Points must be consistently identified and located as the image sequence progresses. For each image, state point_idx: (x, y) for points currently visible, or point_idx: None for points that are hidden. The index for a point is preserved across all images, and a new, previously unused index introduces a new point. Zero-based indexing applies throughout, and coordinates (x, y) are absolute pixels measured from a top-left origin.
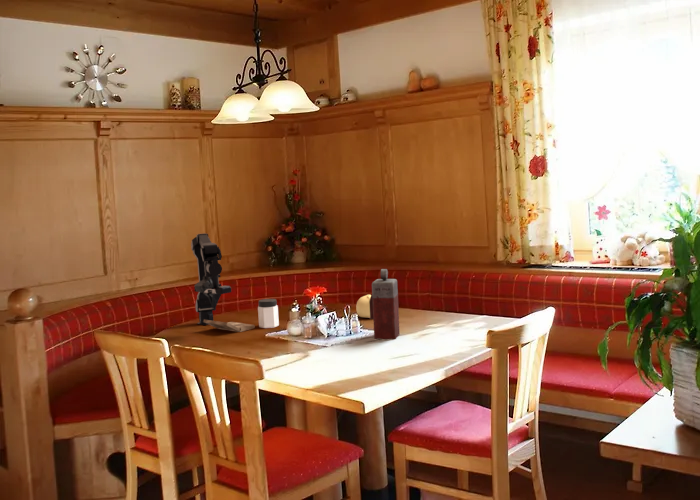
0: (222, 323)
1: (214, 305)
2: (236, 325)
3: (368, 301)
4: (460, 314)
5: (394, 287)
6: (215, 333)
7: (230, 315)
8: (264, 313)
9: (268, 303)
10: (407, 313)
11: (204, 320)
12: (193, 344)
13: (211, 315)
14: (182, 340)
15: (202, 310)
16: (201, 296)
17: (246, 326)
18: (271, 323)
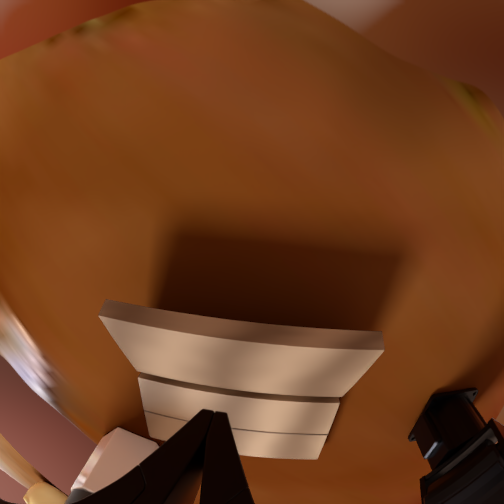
0: (148, 316)
1: (183, 436)
2: None
3: (29, 500)
4: (9, 475)
5: None
6: (244, 289)
7: (408, 494)
8: (91, 469)
9: (67, 499)
10: None
11: (374, 342)
12: (152, 25)
13: (426, 449)
14: (299, 50)
15: (474, 442)
16: (500, 496)
17: (153, 412)
18: (100, 444)
